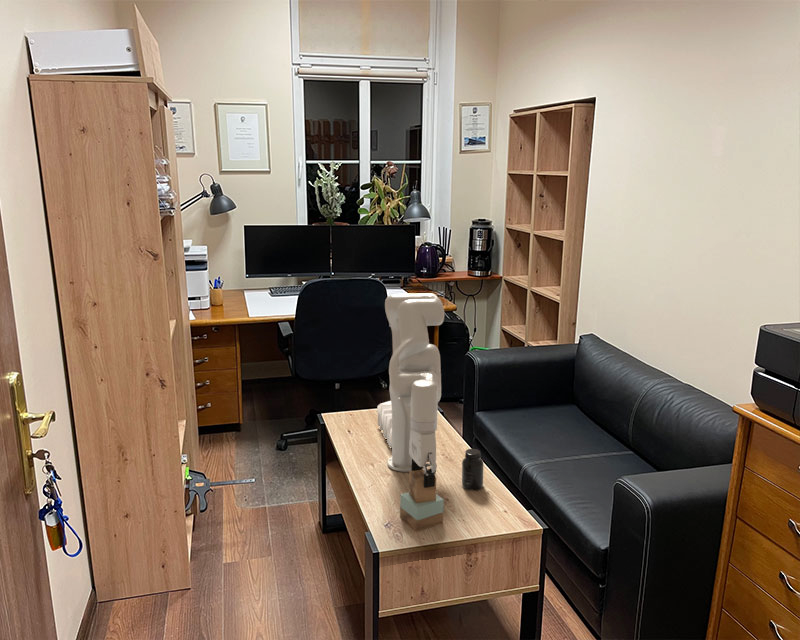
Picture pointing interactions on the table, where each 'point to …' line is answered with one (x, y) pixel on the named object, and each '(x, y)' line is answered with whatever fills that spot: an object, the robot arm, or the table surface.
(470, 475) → the supplement bottle
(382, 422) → the wavy white extrusion
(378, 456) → the table surface
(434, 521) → the tower base slab
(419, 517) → the tower top slab
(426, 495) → the walnut block
